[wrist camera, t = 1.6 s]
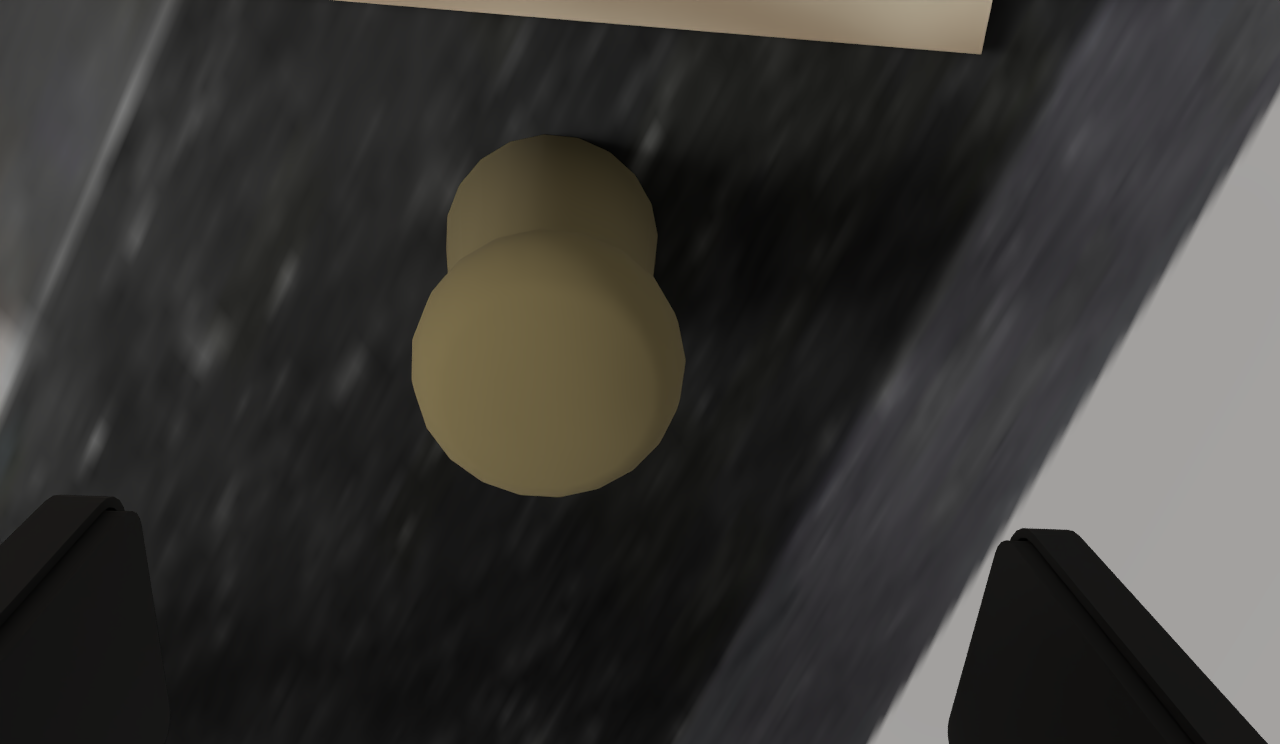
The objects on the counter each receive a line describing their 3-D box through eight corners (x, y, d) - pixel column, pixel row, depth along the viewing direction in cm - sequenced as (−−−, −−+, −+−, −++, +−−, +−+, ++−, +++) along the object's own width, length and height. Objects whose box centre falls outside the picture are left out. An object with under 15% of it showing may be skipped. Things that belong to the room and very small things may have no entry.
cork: (427, 315, 27) (347, 515, 16) (469, 108, 24) (405, 192, 14) (626, 360, 28) (665, 574, 18) (683, 166, 26) (765, 282, 15)
